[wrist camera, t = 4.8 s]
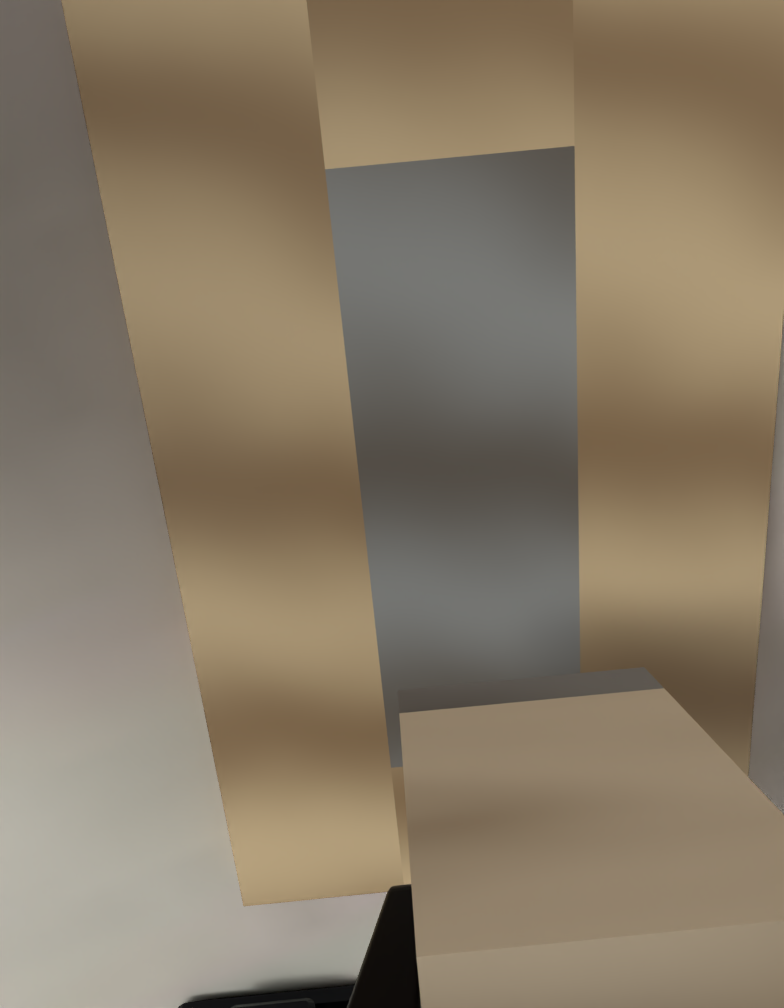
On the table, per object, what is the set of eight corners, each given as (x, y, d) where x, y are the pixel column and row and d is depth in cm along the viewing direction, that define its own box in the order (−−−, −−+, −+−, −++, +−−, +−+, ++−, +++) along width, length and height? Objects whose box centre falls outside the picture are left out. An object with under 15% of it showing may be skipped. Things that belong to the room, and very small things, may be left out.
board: (715, 820, 16) (742, 856, 15) (253, 867, 16) (243, 906, 15) (768, -70, 11) (817, -125, 9) (86, -7, 11) (50, -55, 9)
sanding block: (636, 954, 10) (809, 1332, 6) (424, 975, 10) (456, 1371, 6) (644, 666, 8) (875, 912, 5) (397, 690, 8) (416, 956, 4)
